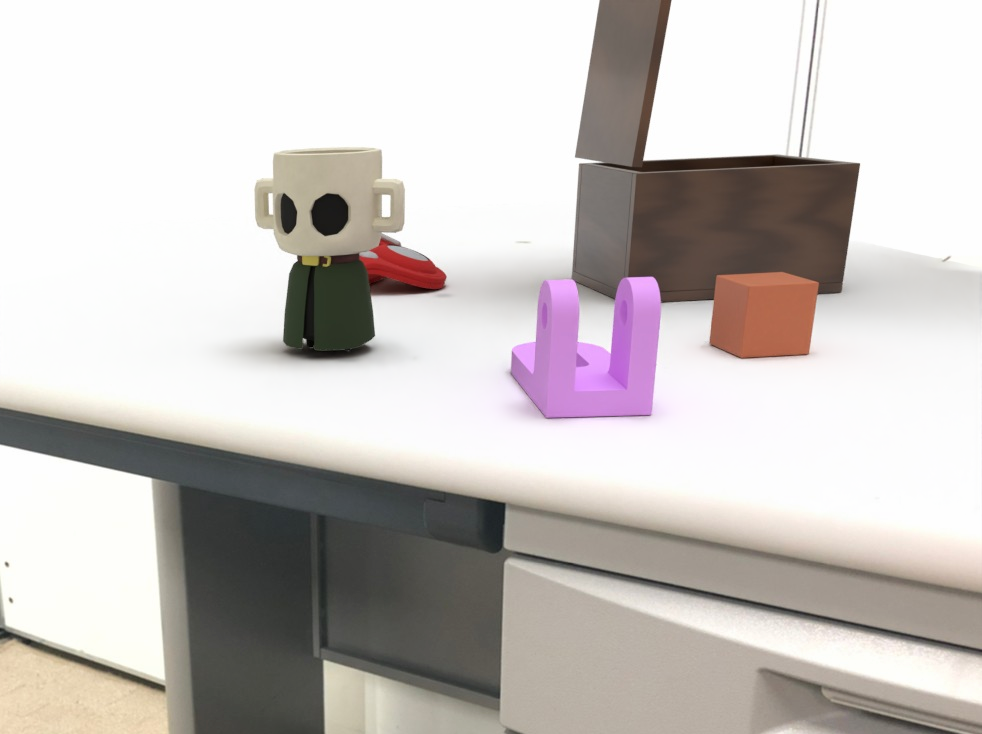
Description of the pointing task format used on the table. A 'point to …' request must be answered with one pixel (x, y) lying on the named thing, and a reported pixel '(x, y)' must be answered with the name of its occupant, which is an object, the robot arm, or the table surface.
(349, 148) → the character mug
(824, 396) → the table surface
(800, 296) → the block
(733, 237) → the walnut box
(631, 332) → the bracket
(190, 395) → the table surface
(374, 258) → the tracker holder
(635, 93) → the lid
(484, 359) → the table surface
